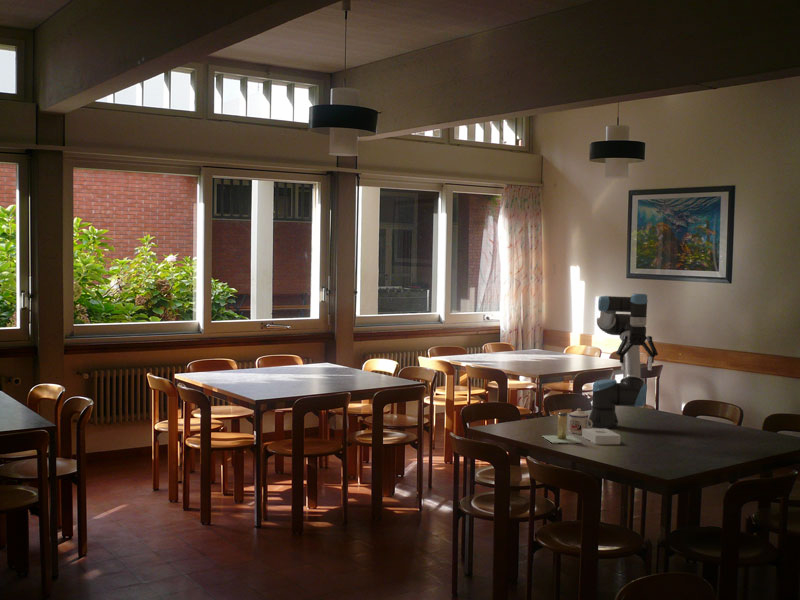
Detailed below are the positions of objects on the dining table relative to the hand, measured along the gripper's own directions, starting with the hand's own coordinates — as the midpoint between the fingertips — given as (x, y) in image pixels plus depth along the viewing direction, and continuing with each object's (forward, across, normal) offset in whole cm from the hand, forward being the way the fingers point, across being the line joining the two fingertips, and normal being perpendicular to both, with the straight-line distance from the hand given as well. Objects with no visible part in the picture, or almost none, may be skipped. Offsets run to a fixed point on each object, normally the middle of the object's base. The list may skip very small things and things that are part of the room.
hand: (636, 370), depth 392 cm
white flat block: (+32, -21, -10) cm, 39 cm away
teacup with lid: (+32, -24, +7) cm, 41 cm away
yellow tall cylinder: (+31, -40, -10) cm, 51 cm away
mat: (+32, -40, -10) cm, 52 cm away
